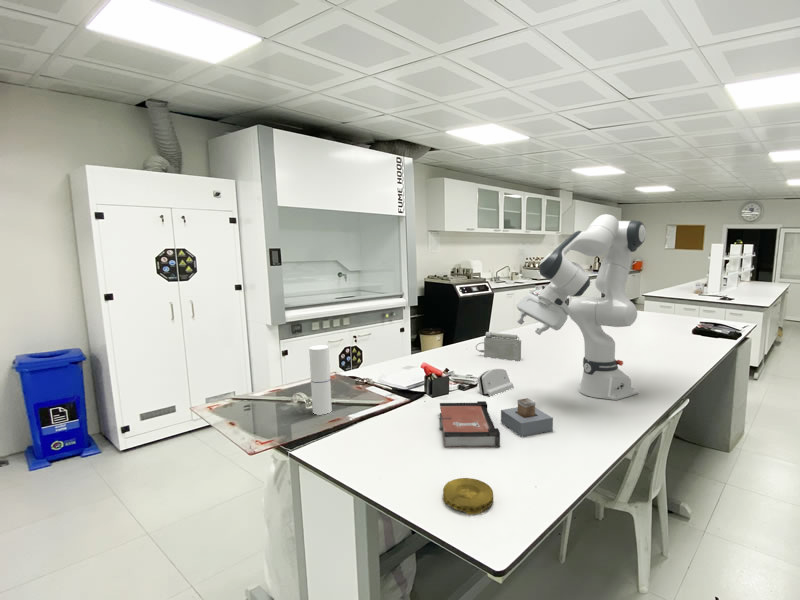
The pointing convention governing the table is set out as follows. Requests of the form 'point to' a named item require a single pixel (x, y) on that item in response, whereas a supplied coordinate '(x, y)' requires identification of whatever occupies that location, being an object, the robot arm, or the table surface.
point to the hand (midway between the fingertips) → (528, 328)
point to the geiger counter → (501, 346)
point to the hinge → (494, 382)
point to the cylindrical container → (320, 379)
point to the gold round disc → (468, 495)
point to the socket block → (526, 422)
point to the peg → (526, 408)
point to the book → (468, 425)
